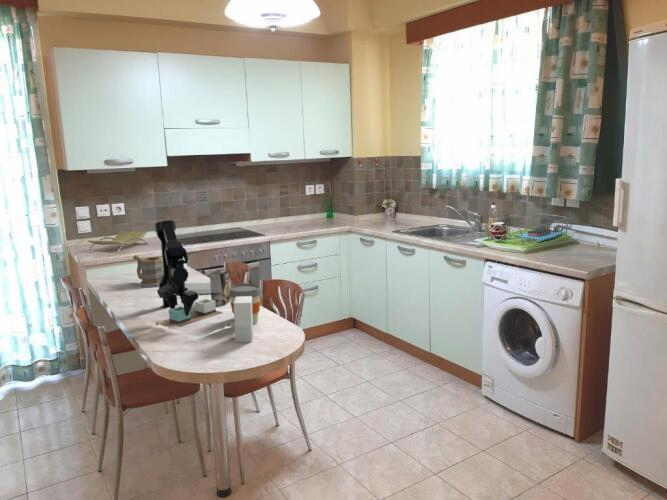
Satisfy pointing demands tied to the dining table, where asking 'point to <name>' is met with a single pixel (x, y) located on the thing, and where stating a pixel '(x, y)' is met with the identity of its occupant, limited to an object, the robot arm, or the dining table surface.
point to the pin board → (193, 317)
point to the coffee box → (220, 286)
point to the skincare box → (243, 319)
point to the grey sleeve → (205, 307)
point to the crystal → (198, 286)
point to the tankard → (149, 271)
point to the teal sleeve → (178, 315)
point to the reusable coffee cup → (247, 291)
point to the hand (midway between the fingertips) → (179, 313)
